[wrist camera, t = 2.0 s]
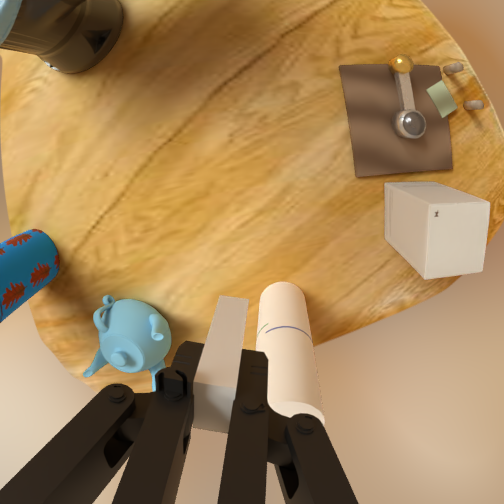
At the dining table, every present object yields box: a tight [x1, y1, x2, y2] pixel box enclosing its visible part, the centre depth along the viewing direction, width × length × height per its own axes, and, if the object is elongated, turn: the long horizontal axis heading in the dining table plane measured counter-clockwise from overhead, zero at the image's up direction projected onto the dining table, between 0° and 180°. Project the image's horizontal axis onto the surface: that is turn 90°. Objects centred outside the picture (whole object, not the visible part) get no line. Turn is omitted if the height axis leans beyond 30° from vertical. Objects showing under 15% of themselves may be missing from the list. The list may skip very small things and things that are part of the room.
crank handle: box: [388, 54, 426, 138], centre depth 36 cm, size 12×4×4 cm, turn 10°
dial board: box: [339, 62, 484, 177], centre depth 38 cm, size 16×21×4 cm
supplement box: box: [384, 182, 490, 280], centre depth 37 cm, size 9×9×15 cm
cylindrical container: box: [256, 282, 325, 426], centre depth 39 cm, size 7×7×25 cm
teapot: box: [83, 295, 171, 391], centre depth 49 cm, size 15×15×10 cm
